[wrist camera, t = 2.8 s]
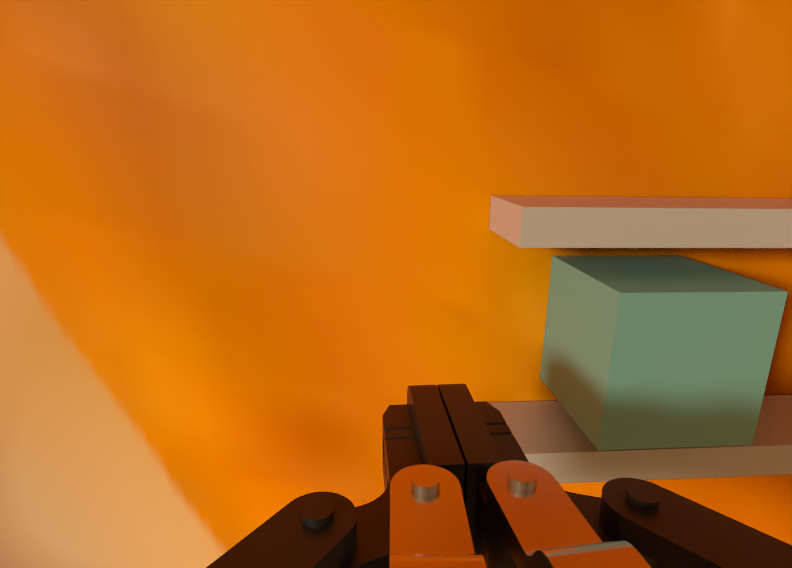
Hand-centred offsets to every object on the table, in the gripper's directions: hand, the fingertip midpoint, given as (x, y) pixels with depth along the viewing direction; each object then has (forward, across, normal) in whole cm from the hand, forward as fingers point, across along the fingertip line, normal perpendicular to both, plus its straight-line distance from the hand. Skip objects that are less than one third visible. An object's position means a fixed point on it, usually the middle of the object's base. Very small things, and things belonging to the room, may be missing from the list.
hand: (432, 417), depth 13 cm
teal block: (+6, -8, -1) cm, 10 cm away
